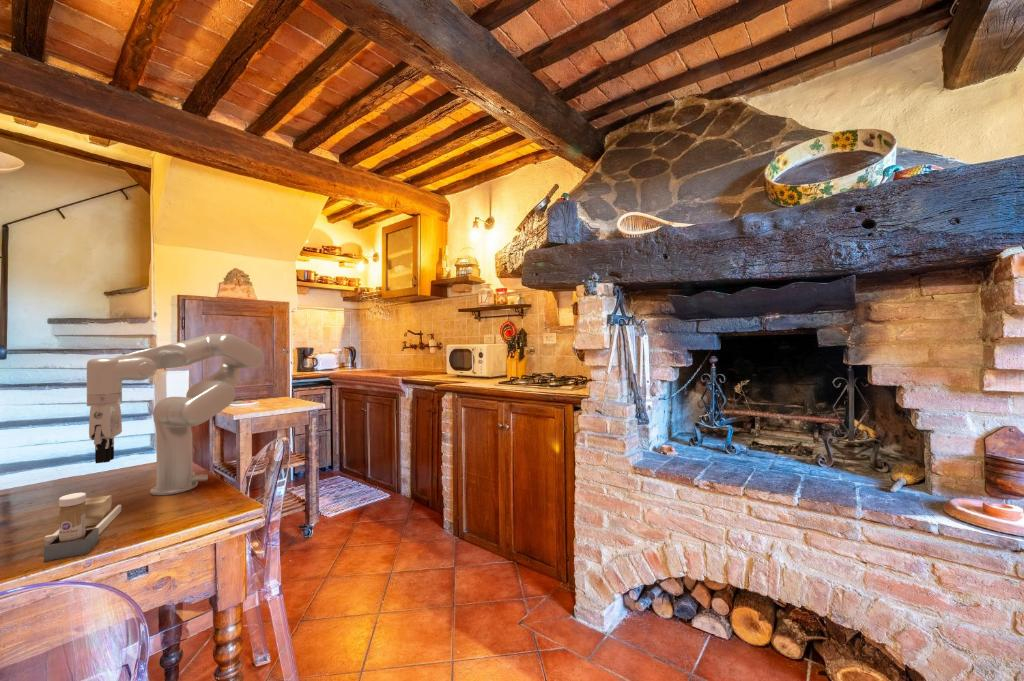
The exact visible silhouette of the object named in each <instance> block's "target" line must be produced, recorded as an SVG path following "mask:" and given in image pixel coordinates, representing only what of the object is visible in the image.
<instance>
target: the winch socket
mask: <svg viewBox="0 0 1024 681" xmlns="http://www.w3.org/2000/svg"><path fill="white" fill-rule="evenodd" d="M85 529H86V528H85ZM99 537H100V534H99V527H98V528H95V527H93V528H92V529H91V528H87V529H86V530H85V539H81V540H75V541H69V542H63V543H60V540H59V534H58V535H57V536H56V537H55V538H53V539H52V540H51V541H50V542H49V543H48V544H46V545H45V544H44V546H43V562H49V561H57V560H61V559H68V558H72V557H79V556H82V555H87V554H88V553H89V552H90V551H91V550H92V549H93V548H94V547H95V545H97V543H99V541H100V540H99V539H100V538H99Z"/></svg>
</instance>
